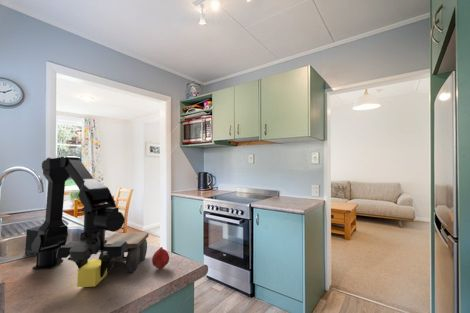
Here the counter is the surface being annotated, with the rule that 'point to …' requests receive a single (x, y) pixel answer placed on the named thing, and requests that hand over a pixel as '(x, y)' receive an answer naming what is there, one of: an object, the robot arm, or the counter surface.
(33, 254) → the small box
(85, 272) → the block
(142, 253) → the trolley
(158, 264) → the onion
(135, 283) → the counter surface
